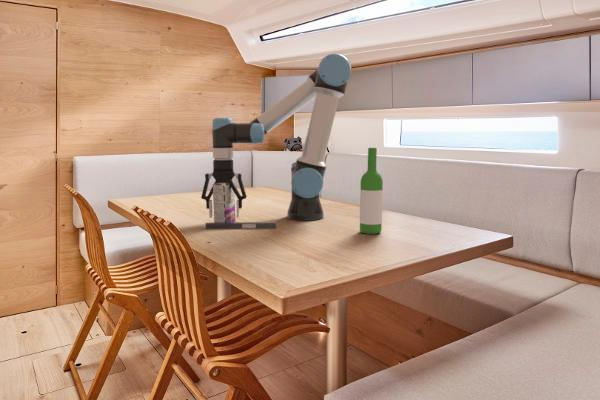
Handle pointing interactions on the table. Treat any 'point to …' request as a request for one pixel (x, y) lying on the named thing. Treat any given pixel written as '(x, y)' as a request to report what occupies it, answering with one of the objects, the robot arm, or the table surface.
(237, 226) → the price rail
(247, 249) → the table surface
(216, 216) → the candy bar box
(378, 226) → the wine bottle
